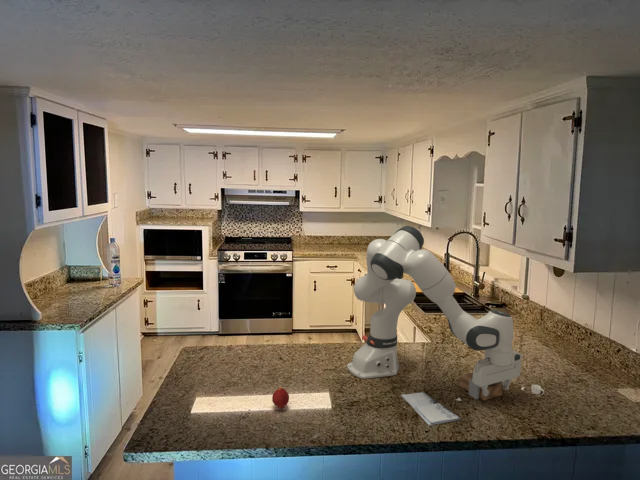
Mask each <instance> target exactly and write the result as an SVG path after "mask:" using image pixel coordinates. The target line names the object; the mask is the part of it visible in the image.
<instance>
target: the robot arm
mask: <svg viewBox="0 0 640 480" xmlns="http://www.w3.org/2000/svg"><path fill="white" fill-rule="evenodd" d="M424 244H425V239H424V236H423V234H422V233H421V231H420V230H419V229H417V228H416V227H414V226H410V225H405V226H402V227H401V228H399V229H398V230H396V231H395V232H394V233H393V234H392V235H391V236H390V237H389V238H388V239H387V240H386V239H384V238H376V239H374V240H372V241H371V242H370V243H369V244H368V246H367V248H366V257H365V258H366V259H365V260H366V267H367V273H365V275H363V276H361V277H359V278H357V279H356V280H355V283H354V285H353V293H354V297H355V298H356V299H357V300H358V301H362V302H365V303H371V304H384V305H385V307H384V308H382V309H380V310H377V311H375V312H374V313H372V315H371V316H370V322H369V323H370V325H369V326H370V333H369V334H368V336H367V335H366V334H362V336H361V339H362V340H364V341H365V344H363V345H362V346H361V347H360V348H359V349H357V351H355V352H354V354H353V357H352V361H351V362H348V363H347V365H346V368H347V370H348V371H349V372H350V373H351V374H352V375H354V376H355V377H357V378H359V379H363V380H364V379H365V380H366V379H367V380H368V379H376V378H385V377H389V376H390V377H391V376H397V374H398V371H399V370H400V364H399V359H398V351H397V345H398V333H397V328H398V327H397V326H398V321H399V316H400V314H401V313H402V311H403V310H404V309H405V308H406V307H407V306H409V305H410V304H412V303H413V301H414V300H415V298H416V295H417V290H416V286H417V287H418V288H419V289H420V291H421V292H422V294H423V295H424V296H426V297H427V298H428V299H429V300H430V301H431V302H432V303H435V304H436V305H437V306H438V307H439V309H440V310H441V312H442V313H443V314H444V315H445V317H446V319H447V322H448V328H449V331H450V333H451V334H452V335H453V336H454V337H456V338H458V339H459V340H460V341H461V342H462V343H463V344H465V345H466V346H467V347H468V348H470V349H471V350H473V351H478V352H481V351H484V357H483V359H479V360H477V362H476V363H475V364H474V365H475V366H474V367H473V371H472V373H473V377H472V382H473V383H474V384H475V385H477V386H479V387H481V388H482V390H483V393H482V394H483V395H484V396H489V393H490V391H488V390H487V388H488V385H491V384H494V383H498V382H501V381H503V383H502V391H508V390H509V389H510V387H509V386H510V384H511V383H512V379H515V378H518V377H519V376H520V375H521V372H522V371H521V369H522V359H523V354H522V353H520V352H518V351H516V350H513V346H512V341H513V338H514V320H513V317H512V316H511V315H510V314H509V313H508V312H505V311H502V310H498V309H490V310H489V311H488V312H487V314H485V315H484V316H482V317H479V318H478V319H477V318H476V317H475V316H474V315H473V314H471V313H469V312H468V311H465V310H463V308H462V307H461V306H460V304H459V303H458V301H457V300H456V298H454V293H455V292H456V289H457V285H456V282H455V281H454V279H453V276H452V274H451V273H450V272H449V271H448V269H447V268H446V267H445V265H444V264H443V263H442V262H441V261H440V260H439V259H438V258H437V256H436V255H434V254H433V253H432V252H431V251H430V250H428V249H424V248H423V246H424ZM404 274H406V275H409V277H411V279H413V281H414V282H415V284H416V286H415V284H414V282H413V281H411V280H408V279H404Z"/></svg>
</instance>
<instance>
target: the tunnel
mask: <svg viewBox="0 0 640 480" xmlns="http://www.w3.org/2000/svg"><path fill="white" fill-rule="evenodd" d="M499 383H500V384H503V383H504V381H501V382H499ZM479 389H480V387H479V386H477V385H475V384H474V383H473V382H472V379H471V380H469V391H468V395H469V396H470V397H472V398H473V399H475V400H479V399H480V398H479Z"/></svg>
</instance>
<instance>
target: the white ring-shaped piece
mask: <svg viewBox="0 0 640 480" xmlns="http://www.w3.org/2000/svg"><path fill="white" fill-rule="evenodd" d="M524 389H526V387H524V386H523V387H521V390H522V391H524ZM541 391H542V394H541ZM531 393H532V394H535V395H542V396H543V395H544V394H545V390H544V389H542V387H541V386H540V385H539V384H531Z"/></svg>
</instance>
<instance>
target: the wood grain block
mask: <svg viewBox="0 0 640 480" xmlns="http://www.w3.org/2000/svg"><path fill="white" fill-rule="evenodd" d="M472 377H473V372H469V373H465V374H461V375H459V387H461V388H462V389H464V390H466V391H468V392H469V380H471V379H472ZM502 384H503V383H502ZM502 384H500V383H499V382H498V383H494V384H491V385H488V388H487V390H488V391H490V393H489V396H484V395H483V394H482V393H483V390H482V388H481V387H480V389H479V399H481V400H483V401H487V400H490V399H493V398H497V397H500V396H503V390H502Z"/></svg>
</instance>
